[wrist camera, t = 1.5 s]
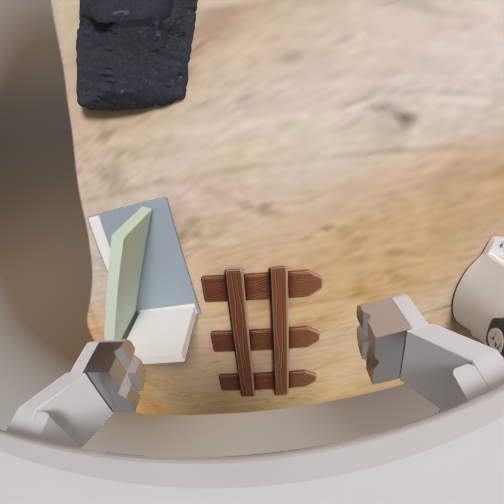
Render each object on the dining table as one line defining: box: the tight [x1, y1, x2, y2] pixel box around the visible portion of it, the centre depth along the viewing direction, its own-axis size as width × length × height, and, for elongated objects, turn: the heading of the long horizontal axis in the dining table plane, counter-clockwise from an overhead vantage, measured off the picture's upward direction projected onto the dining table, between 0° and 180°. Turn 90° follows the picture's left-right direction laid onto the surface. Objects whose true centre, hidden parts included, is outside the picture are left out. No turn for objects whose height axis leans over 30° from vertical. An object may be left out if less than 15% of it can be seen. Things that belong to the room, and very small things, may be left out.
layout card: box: [87, 197, 201, 315], centre depth 39 cm, size 11×16×1 cm
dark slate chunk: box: [76, 0, 198, 111], centre depth 25 cm, size 15×22×5 cm
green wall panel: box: [105, 206, 152, 340], centre depth 34 cm, size 15×1×9 cm, turn 163°
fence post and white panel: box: [121, 307, 197, 364], centre depth 36 cm, size 11×2×12 cm, turn 101°
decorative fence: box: [201, 266, 323, 397], centre depth 43 cm, size 23×2×15 cm
